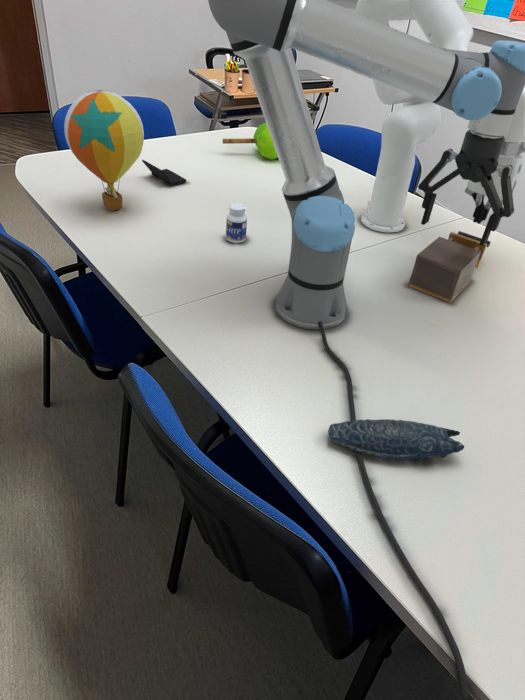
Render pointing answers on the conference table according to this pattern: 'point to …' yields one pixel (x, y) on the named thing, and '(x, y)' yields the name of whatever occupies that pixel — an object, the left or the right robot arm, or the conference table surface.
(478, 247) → the drawer
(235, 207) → the pill bottle
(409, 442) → the fish model
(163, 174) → the black angular piece
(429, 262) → the cabinet
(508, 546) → the conference table surface
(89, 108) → the toy
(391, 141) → the right robot arm
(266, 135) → the decorative tree
